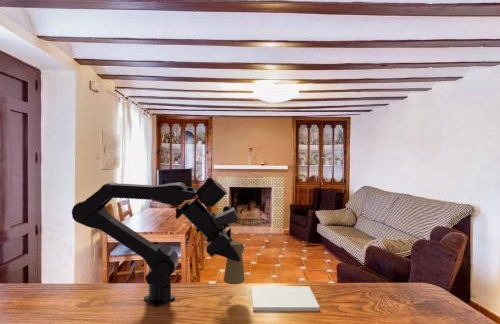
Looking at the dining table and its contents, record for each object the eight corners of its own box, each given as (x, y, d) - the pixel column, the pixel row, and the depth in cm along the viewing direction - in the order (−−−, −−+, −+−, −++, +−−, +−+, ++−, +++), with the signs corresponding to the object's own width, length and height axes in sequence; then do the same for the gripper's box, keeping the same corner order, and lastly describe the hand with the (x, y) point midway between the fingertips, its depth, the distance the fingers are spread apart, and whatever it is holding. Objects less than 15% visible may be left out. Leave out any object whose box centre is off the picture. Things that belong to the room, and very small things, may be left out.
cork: (242, 285, 92) (243, 246, 91) (221, 283, 93) (221, 244, 92) (246, 276, 98) (247, 239, 97) (226, 274, 99) (227, 238, 98)
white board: (253, 310, 89) (253, 307, 89) (251, 289, 102) (251, 286, 102) (319, 310, 90) (319, 307, 90) (309, 289, 103) (309, 286, 103)
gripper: (220, 204, 84) (262, 248, 85) (223, 193, 103) (258, 229, 104) (188, 235, 85) (231, 278, 86) (197, 218, 103) (232, 253, 104)
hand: (239, 257), depth 95 cm, fingers closed on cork, 5 cm apart
